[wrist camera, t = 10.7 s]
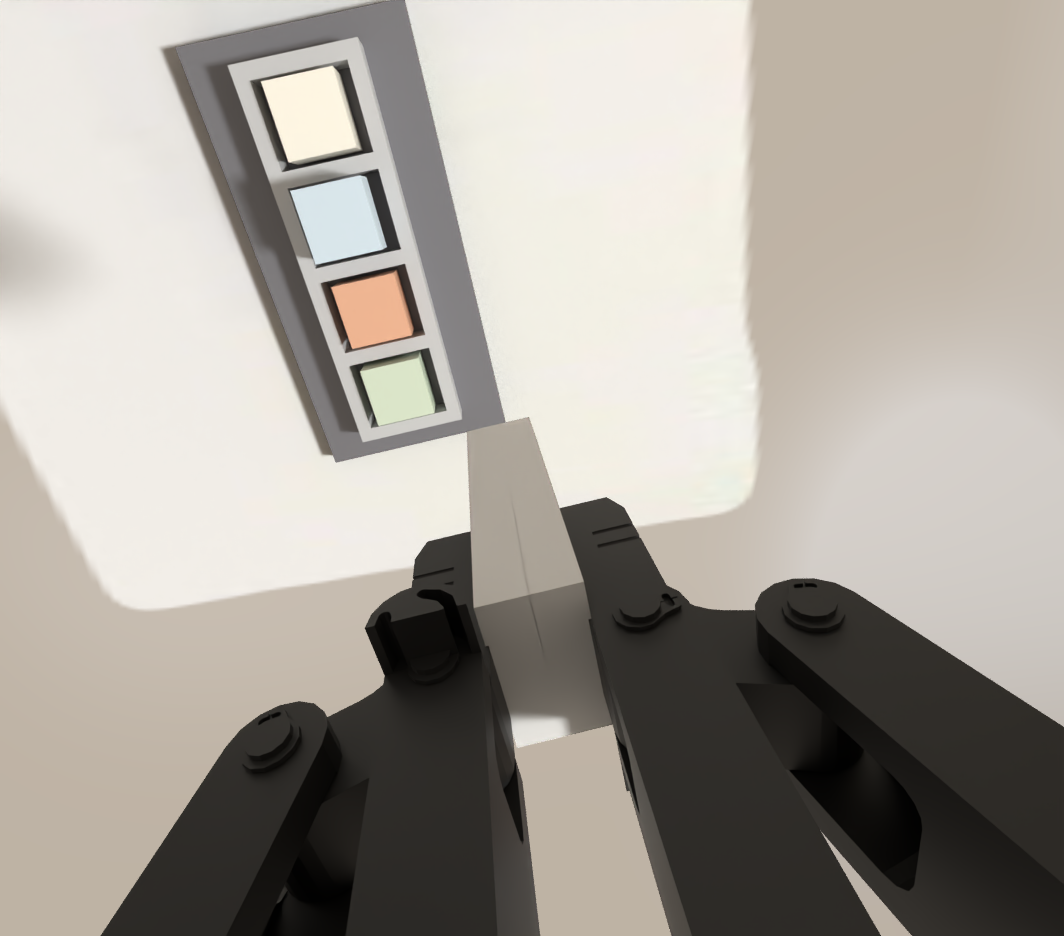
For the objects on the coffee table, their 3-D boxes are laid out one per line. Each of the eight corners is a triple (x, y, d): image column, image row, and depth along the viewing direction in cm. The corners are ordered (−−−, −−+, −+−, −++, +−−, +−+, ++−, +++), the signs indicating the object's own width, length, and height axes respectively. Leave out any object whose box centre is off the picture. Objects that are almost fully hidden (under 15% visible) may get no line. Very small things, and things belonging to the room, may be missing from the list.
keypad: (184, 52, 31) (158, 38, 28) (405, 4, 31) (400, -15, 28) (339, 455, 41) (330, 473, 38) (504, 417, 41) (507, 432, 39)
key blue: (300, 191, 31) (290, 191, 29) (366, 177, 31) (360, 175, 29) (324, 261, 33) (315, 264, 31) (386, 246, 33) (382, 249, 31)
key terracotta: (338, 282, 35) (331, 287, 33) (397, 269, 35) (393, 273, 33) (358, 341, 36) (352, 349, 34) (414, 328, 36) (411, 335, 34)
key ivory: (273, 89, 31) (260, 81, 29) (340, 74, 31) (332, 65, 29) (298, 164, 32) (288, 162, 30) (362, 150, 32) (356, 147, 30)
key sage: (365, 362, 37) (359, 371, 35) (420, 349, 37) (418, 357, 35) (382, 414, 39) (378, 426, 37) (435, 402, 39) (434, 413, 37)
